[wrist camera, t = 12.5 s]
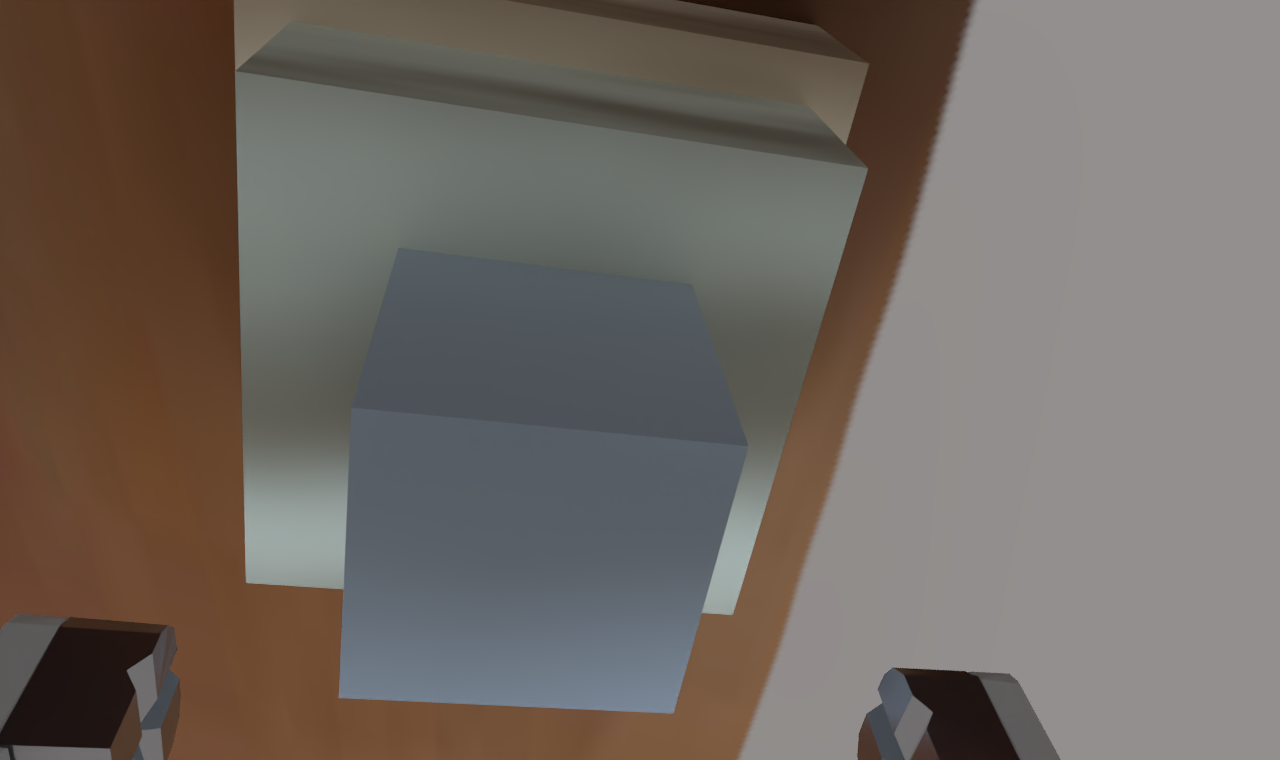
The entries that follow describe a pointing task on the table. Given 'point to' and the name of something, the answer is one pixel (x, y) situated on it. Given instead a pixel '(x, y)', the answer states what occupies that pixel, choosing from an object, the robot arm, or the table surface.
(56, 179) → the table surface
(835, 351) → the table surface
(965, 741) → the robot arm
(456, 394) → the slate brick
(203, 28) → the table surface
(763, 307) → the cream stepped block
